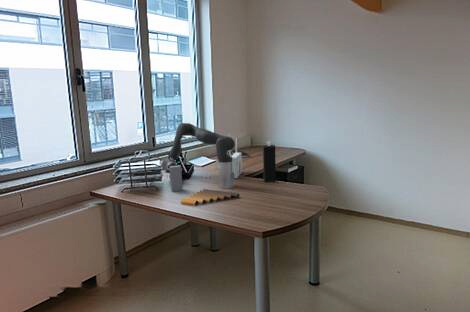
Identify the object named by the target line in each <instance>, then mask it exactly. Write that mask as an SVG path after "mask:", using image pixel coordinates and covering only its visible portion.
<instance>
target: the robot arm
mask: <svg viewBox="0 0 470 312" xmlns="http://www.w3.org/2000/svg"><path fill="white" fill-rule="evenodd" d="M187 136H188V137H194V138H196V139H197V141H198V142H200V143H203V144H206V145H215V149H216V157H217V161H218V162H217V163H218V179H219V180H218V181H219V188H220V189H232V188H234V187H235V179H234V172H233V166H232V157H231V156H230V155H229V154H227V153H228V151H229V150H231V151H233V149H234V148H235V147H236V141H235V140H234V138H232V137H231V136H230V137H229V135H228V136H227V135H222V134H219V133H216V132H213V131H211V130H208V129H205V128H202V127H199V126H198V127H197V126H196V125H194V124H192V123H190V122H188V123H187V122H185V123H184V122H183V123H178V125H177V127H176V131H175V135H174V140H173V144H172V147H171V150H170V151H169V157H165V158H164V160H163V162H162V163H163V167H165V168H164V170H163V171H164V173H167V174H170V166H178V163H177V164H176V163H175V162H174V161H172V160H170V158H171V159H174V160H176V159H177V158H178V159H179V156H180V154H181V151H182V143H181V141H182V138H183V137H187ZM182 171H183V168H182V167H181V172H182Z"/></svg>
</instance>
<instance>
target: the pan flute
mask: <svg viewBox="0 0 470 312" xmlns="http://www.w3.org/2000/svg"><path fill="white" fill-rule="evenodd" d="M232 199H240V194H239V192H233V191H232V192H230V191H223V190H222V191H221V190H214V189H207V188H203V189H201V190H199V191H196V193H192V195H191V194H189V196H186V197H185V198H184V197H183V198H182V199H181V201H180V204H182V205H187V206H194V207H197V206H198V205H203V206H204V205H205V204H212V203H213V202H215V203H218V202H220V201H223V202H225V201H226V200H230V201H231V200H232Z"/></svg>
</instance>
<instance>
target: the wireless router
mask: <svg viewBox="0 0 470 312" xmlns="http://www.w3.org/2000/svg"><path fill="white" fill-rule="evenodd" d="M228 137H231V136H230V134H228ZM234 153H241V158H242V159H243V158H249V156H250V154H249V153H247V152H245V151H241V150H238V138H237V137H236V138H235V150H229V151H227V155H228V156H232V155H233V154H234Z"/></svg>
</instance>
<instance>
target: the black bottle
mask: <svg viewBox="0 0 470 312" xmlns="http://www.w3.org/2000/svg"><path fill="white" fill-rule="evenodd" d="M271 142H272V140H270V141H269V140H268V141H266V144H262V164H263V165H262V166H263V181H265V182H264V183H268V182H267V181H273V182H272V183H274V182H275V183H276V182H277V181H276V179H277V175H276V173H277V171H276V170H277V169H276V165H277V163H276V146H275V144H271Z"/></svg>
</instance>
